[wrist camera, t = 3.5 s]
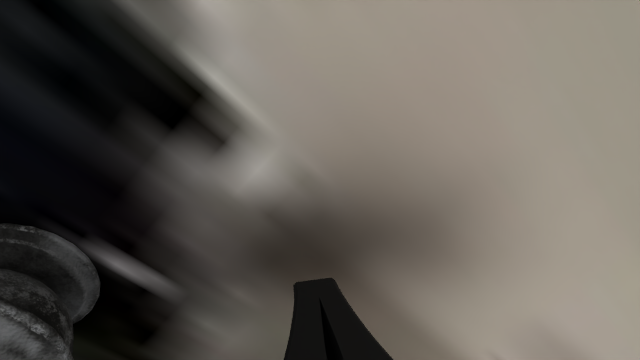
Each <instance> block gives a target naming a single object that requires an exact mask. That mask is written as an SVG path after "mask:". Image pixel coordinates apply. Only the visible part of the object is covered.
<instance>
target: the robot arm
mask: <svg viewBox="0 0 640 360" xmlns="http://www.w3.org/2000/svg"><path fill="white" fill-rule="evenodd" d="M293 286H294V310H293V318H292V324H291V330H290V336H289V340H288V345H287V349H286V353H285V357H284V360H393V359H392V358H391V356H390V355H389V354H388V353H387V352H386V351H385V350H384V349H383V348H382V346H381V345H380V344H379V343H378V342H377V341H376V339H375V338H374V337H373V336H372V335H371V333H370V332H369V331H368V329H367V328H366V327H365V326H364V324H363V323H362V322H361V320H360V319H359V318H358V316H357V315H356V314H355V312H354V311H353V309H352V308H351V306H350V305H349V303H348V302H347V300H346V299H345V297H344V296H343V294H342V292H341V291H340V289H339V287H338V285H337V284H336V282H335V280H334V279H333V278H325V279H318V280H310V281H303V282H296V283H295V284H294V285H293Z"/></svg>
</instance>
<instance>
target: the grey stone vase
mask: <svg viewBox="0 0 640 360" xmlns="http://www.w3.org/2000/svg"><path fill="white" fill-rule="evenodd" d="M99 293H100V280H99V276H98V272H97V269H96V268H95V266H94V265H93V264H92V262H91V261H90V259H89V258H88V256H87V255H85V254H84V253H83V252H82V251H81V250H80V249H79V248H77V247H76V246H75V245H74V244H72V243H71V242H69V241H67V240H65V239H63V238H62V237H60V236H58V235H56V234H54V233H51V232H48V231H45V230H42V229H39V228H36V227H32V226H25V225H18V224H11V223H7V224H0V360H73V357H72V351H73V324H74V323H75V322H77V321H79V320H81V319H82V318H84V317H85V316H86V315H87V314H88V313H89V312H90V311H91V310H92V309H93V307H94V305H95V303H96V301H97V299H98V297H99Z"/></svg>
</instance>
